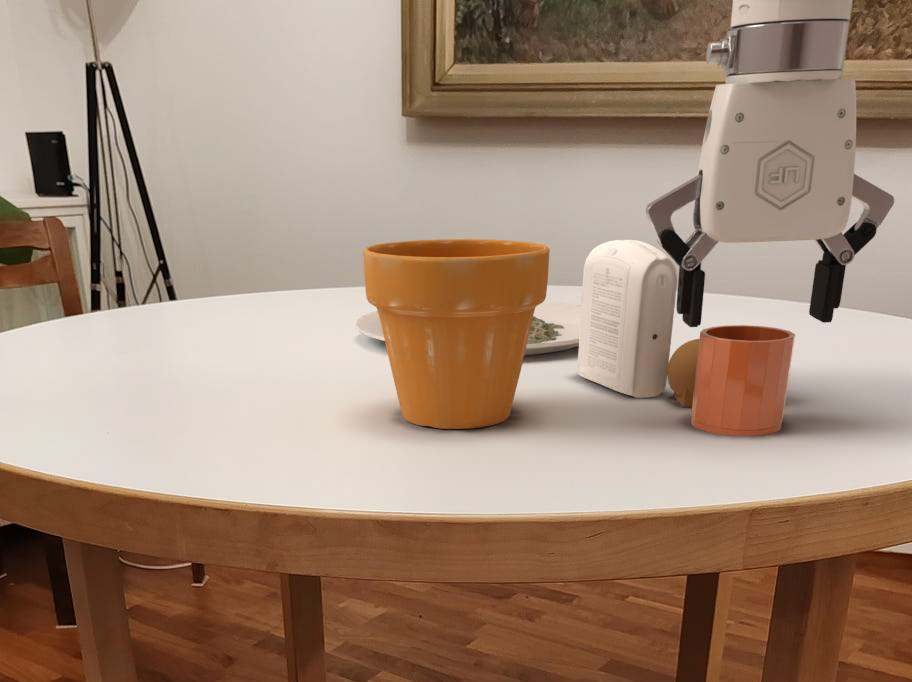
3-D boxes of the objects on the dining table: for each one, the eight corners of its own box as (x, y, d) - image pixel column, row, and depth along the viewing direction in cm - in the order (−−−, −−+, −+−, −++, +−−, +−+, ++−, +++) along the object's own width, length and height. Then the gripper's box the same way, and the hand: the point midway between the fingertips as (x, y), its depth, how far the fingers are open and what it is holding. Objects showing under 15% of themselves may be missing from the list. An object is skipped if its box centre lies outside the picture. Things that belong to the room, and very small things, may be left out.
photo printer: (673, 395, 86) (688, 244, 80) (631, 401, 84) (644, 247, 79) (609, 372, 94) (619, 234, 89) (570, 377, 93) (577, 236, 87)
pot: (766, 413, 80) (779, 324, 77) (792, 436, 74) (807, 341, 71) (683, 414, 80) (692, 325, 77) (702, 437, 74) (713, 342, 71)
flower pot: (426, 389, 89) (424, 235, 83) (570, 407, 83) (579, 241, 77) (335, 425, 79) (325, 252, 73) (492, 449, 72) (495, 261, 66)
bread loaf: (752, 393, 86) (761, 332, 84) (770, 408, 82) (779, 344, 79) (659, 394, 86) (664, 333, 84) (671, 409, 82) (677, 345, 79)
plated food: (655, 324, 117) (657, 294, 116) (566, 374, 94) (567, 338, 92) (432, 309, 130) (432, 282, 128) (304, 350, 106) (302, 318, 105)
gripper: (666, 61, 63) (649, 335, 71) (940, 49, 62) (891, 327, 70) (645, 66, 69) (631, 317, 77) (893, 55, 69) (853, 309, 77)
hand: (755, 321), depth 74 cm, fingers open, 9 cm apart
